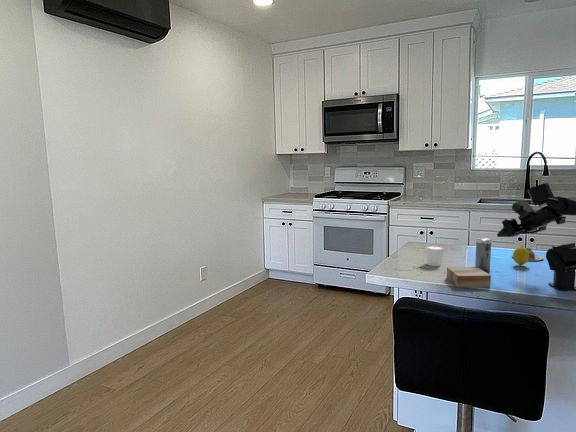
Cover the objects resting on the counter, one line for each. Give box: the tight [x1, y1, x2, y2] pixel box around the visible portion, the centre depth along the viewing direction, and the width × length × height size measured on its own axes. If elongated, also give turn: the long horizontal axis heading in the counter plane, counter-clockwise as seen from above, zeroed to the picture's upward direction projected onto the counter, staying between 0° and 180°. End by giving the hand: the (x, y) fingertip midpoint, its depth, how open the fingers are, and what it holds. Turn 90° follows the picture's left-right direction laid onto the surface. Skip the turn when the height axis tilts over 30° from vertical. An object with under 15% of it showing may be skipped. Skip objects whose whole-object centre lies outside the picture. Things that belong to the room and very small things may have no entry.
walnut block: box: [446, 266, 492, 288], centre depth 148 cm, size 11×11×4 cm
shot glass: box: [425, 245, 444, 267], centre depth 173 cm, size 7×7×7 cm
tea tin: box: [474, 237, 492, 274], centre depth 161 cm, size 5×5×12 cm
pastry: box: [511, 247, 545, 262], centre depth 180 cm, size 12×12×5 cm
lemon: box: [512, 245, 529, 267], centre depth 168 cm, size 6×6×8 cm
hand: (505, 234), depth 158 cm, fingers open, 9 cm apart
